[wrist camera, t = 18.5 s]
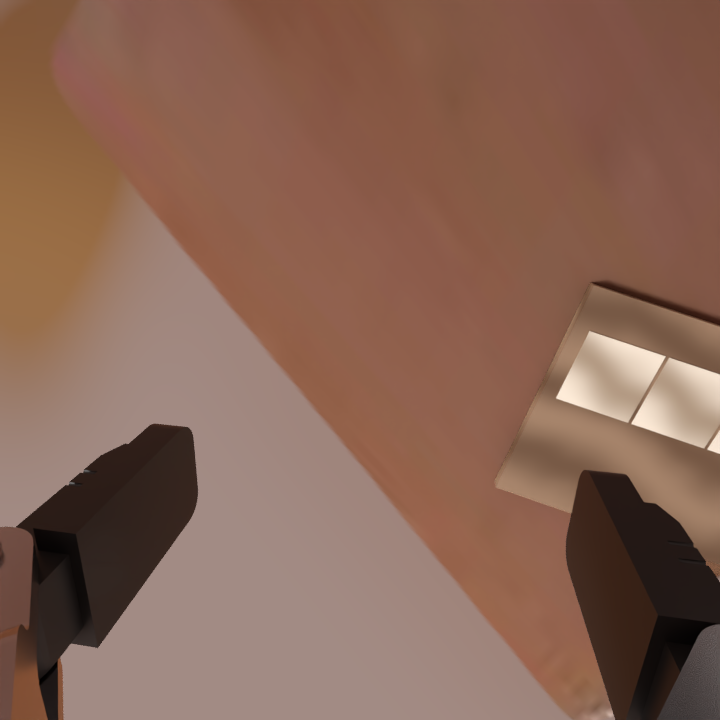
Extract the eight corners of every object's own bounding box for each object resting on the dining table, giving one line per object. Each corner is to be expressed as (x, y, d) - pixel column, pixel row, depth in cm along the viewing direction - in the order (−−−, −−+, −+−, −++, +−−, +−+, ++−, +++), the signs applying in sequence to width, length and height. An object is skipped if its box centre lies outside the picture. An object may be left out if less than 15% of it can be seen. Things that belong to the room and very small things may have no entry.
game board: (590, 282, 38) (594, 285, 37) (943, 399, 37) (957, 405, 36) (494, 480, 44) (495, 488, 43) (791, 583, 43) (800, 593, 42)
